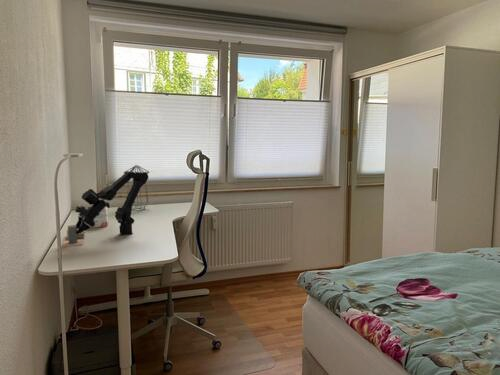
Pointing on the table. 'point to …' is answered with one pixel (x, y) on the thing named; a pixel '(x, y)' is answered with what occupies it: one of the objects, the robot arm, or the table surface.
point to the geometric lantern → (140, 191)
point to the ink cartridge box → (101, 219)
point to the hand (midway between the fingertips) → (75, 231)
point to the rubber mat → (66, 243)
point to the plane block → (80, 235)
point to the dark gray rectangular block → (72, 234)
